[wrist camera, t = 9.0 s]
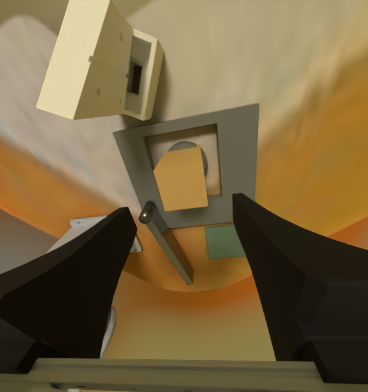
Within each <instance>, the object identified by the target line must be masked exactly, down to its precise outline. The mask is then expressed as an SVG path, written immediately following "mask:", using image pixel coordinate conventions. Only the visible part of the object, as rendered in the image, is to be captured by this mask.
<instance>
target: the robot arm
mask: <svg viewBox="0 0 368 392" xmlns="http://www.w3.org/2000/svg"><path fill="white" fill-rule="evenodd" d="M232 208H233V222H234V225H235V229H236V233H237V235H238V238H239V240H240V242H241V245H242V247H243V250H244V252H245V255H246V257H247V259H248V262H249V265H250V267H251V270H252V274H253V277H254V280H255V283H256V287H257V290H258V294H259V297H260V301H261V304H262V308H263V312H264V315H265V319H266V322H267V326H268V330H269V334H270V338H271V342H272V346H273V350H274V354H275V358H276V361H225V360H223V361H222V360H150V359H146V360H145V359H102V358H103V356H104V355H105V353H106V351H107V348H108V346H109V344H110V342H111V339H112V337H113V334H114V330H115V326H116V309H115V307H114V306H112V303H113V300H114V298H115V296H114V294H115V290H116V287H117V284H118V280H119V277H120V275H121V272H122V269H123V267H124V265H125V262H126V260H127V257H128V255H129V253H130V252H140V251H141V250H142V247H141V245H140V243H139V240H138V238H137V236H136V232H137V227H136V224H135V222H134V220H133V217H132V215H131V213H130V210H129V208H128V207H122V208H119V209H117V210H115V211H114V212H112V213H111V214H109V215H106V216H98V217H90V218H82V219H74V220H71V221H70V224H71V226H72V227H71V228H70V229H69V230H68V231H67V232H66V233H65V234H64V235H63V236H62V237H61V238H60V239H59V240H58V241H57V242H56V243H55V244H54V245H53V246H52V248H50V249H49V250H48V251H47V253H46V254H45V255H43V256H41V257H39V258H37V259H35V260H32V261H30V262H28V263H26V264H24V265H21V266H19V267H17V268H14V269H12V270H10V271H7V272H5V273H2V274H0V392H80V391H81V390H82V389H83V390H106V391H107V390H108V391H129V392H368V250H366V249H362V248H358V247H355V246H352V245H348V244H345V243H343V242H339V241H336V240H333V239H330V238H328V237H325V236H322V235H319V234H317V233H314V232H312V231H309V230H307V229H304V228H302V227H299V226H297V225H295V224H293V223H291V222H289V221H287V220H285V219H283V218H281V217H279V216H277V215H275V214H274V213H272V212H270V211H268V210H267V209H265V208H263V207H262V206H260V205H259V204H257V203H256V202H254V201H253V200H252V199H250V198H249V197H247V196H246V195H244V194H243V193H236V194H232Z"/></svg>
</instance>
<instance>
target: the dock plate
mask: <svg viewBox="0 0 368 392" xmlns="http://www.w3.org/2000/svg"><path fill="white" fill-rule="evenodd" d="M258 121H259V104H251V105H246V106H241V107H236V108H230V109H225V110H220V111H215V112H210V113H205V114H200V115H195V116H190V117H185V118H180V119H175V120H170V121H165V122H160V123H155V124H150V125H145V126H140V127H135V128H130V129H125V130H120V131H116V132H113V135H114V137H115V140H116V143H117V145H118V148H119V150H120V153H121V156H122V158H123V161H124V164H125V166H126V169H127V172H128V174H129V177H130V180H131V182H132V185H133V187H134V190H135V193H136V195H137V198H138V201H139V203H140V206H141V209H142V210H143V208H144V206H145V204H146V202H147V201H153V202H154V203H155V204H156V207H155V208H156V209H157V211H158V213H159V214H160V216H161V217H162V219H163V221H164V222H165V224H166V226H167V227H168V229H169V228H179V227H188V226H198V225H207V224H217V223H227V222H233V208H232V194H236V193H243V194H244V195H246V196H247V197H249V198H250V199H252V200H253V201H254V202H255V182H256V162H257V141H258ZM215 123H216V132H217V145H218V159H219V173H220V187H221V194H218V195H211V196H207V201H208V206H206V207H197V208H189V209H181V210H172V211H165V210H164V207H163V203H162V200H161V196H160V193H159V189H158V186H157V183H156V179H155V176H154V172H153V171H154V169H155V168H154V165H153V161H152V158H151V154H150V151H149V147H148V144H147V140H146V136H151V135H157V134H162V133H167V132H172V131H178V130H183V129H188V128H194V127H199V126H204V125H210V124H215Z"/></svg>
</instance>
